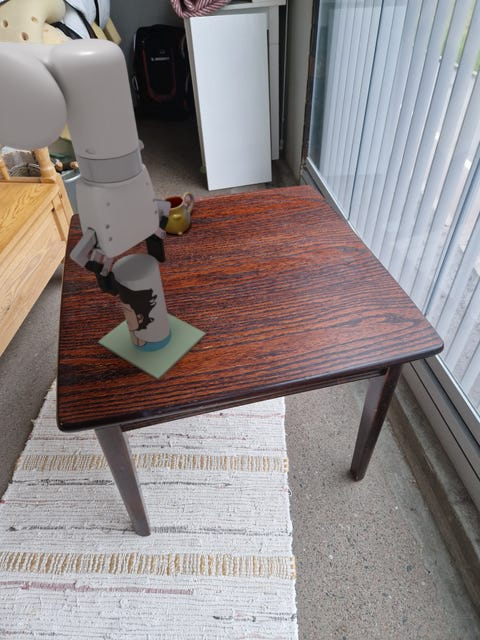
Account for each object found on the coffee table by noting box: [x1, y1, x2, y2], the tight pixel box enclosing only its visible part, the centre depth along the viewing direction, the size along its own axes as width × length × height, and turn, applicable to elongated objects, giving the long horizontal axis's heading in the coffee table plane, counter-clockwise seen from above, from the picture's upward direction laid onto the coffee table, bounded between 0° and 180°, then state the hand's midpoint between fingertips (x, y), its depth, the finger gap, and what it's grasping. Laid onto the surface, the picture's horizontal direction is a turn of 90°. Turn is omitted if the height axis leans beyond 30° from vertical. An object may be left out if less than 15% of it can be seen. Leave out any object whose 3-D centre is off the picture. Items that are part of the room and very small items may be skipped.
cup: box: [111, 253, 172, 352], centre depth 67 cm, size 7×7×15 cm
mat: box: [97, 312, 207, 381], centre depth 72 cm, size 12×14×1 cm
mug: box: [163, 191, 195, 236], centre depth 98 cm, size 12×7×7 cm, turn 152°
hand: (134, 275), depth 63 cm, fingers open, 9 cm apart
